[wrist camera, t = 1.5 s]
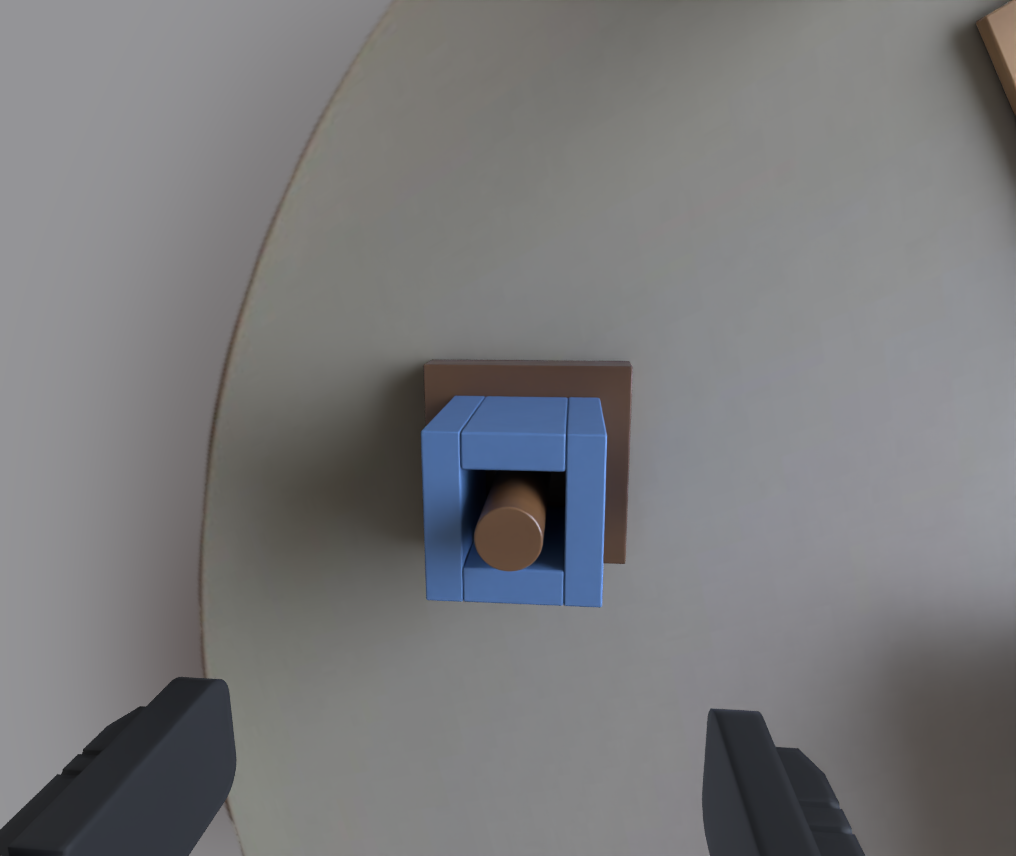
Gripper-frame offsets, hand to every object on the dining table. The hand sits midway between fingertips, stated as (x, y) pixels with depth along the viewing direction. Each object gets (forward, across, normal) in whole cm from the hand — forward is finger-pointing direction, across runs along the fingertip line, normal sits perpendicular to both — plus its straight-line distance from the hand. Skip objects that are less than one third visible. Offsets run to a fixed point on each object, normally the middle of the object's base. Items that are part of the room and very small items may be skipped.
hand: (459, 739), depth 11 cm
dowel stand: (+18, 0, 0) cm, 18 cm away
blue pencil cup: (+16, 0, 0) cm, 16 cm away
